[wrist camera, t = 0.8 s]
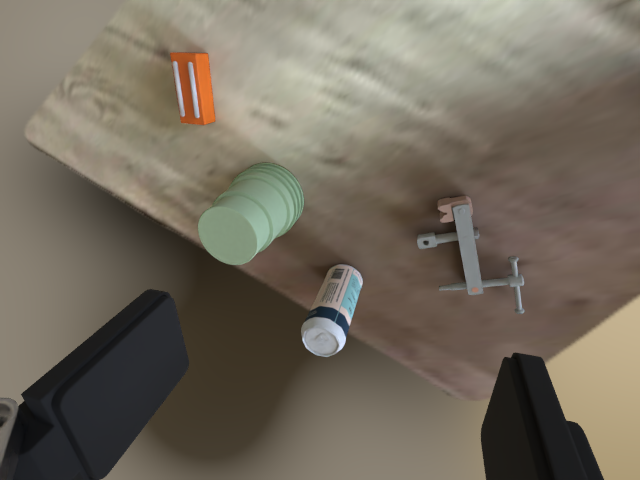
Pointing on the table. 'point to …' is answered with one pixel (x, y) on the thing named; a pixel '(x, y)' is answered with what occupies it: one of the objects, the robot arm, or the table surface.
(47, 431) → the robot arm
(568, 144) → the table surface
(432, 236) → the clamp
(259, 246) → the cup stack
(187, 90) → the striped orange block
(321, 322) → the beer can
